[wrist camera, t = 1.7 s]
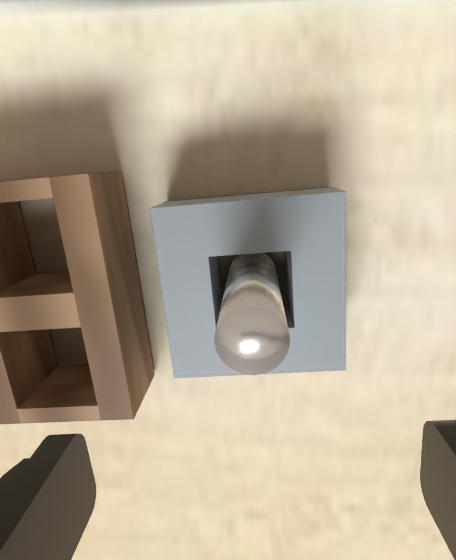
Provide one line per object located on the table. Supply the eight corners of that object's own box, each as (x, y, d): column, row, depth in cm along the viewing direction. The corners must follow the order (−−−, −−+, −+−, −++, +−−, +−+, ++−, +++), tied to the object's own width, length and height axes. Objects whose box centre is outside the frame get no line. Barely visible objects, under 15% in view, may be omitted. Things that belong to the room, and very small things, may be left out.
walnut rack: (121, 171, 23) (87, 173, 19) (154, 374, 27) (133, 419, 23) (-17, 184, 24) (-84, 189, 19) (34, 380, 28) (-11, 424, 23)
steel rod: (274, 248, 24) (288, 303, 15) (277, 293, 25) (291, 372, 15) (227, 252, 24) (210, 308, 15) (231, 296, 25) (218, 376, 16)
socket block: (330, 186, 23) (345, 191, 19) (332, 339, 26) (345, 370, 22) (166, 201, 24) (149, 208, 20) (185, 347, 27) (174, 378, 23)
